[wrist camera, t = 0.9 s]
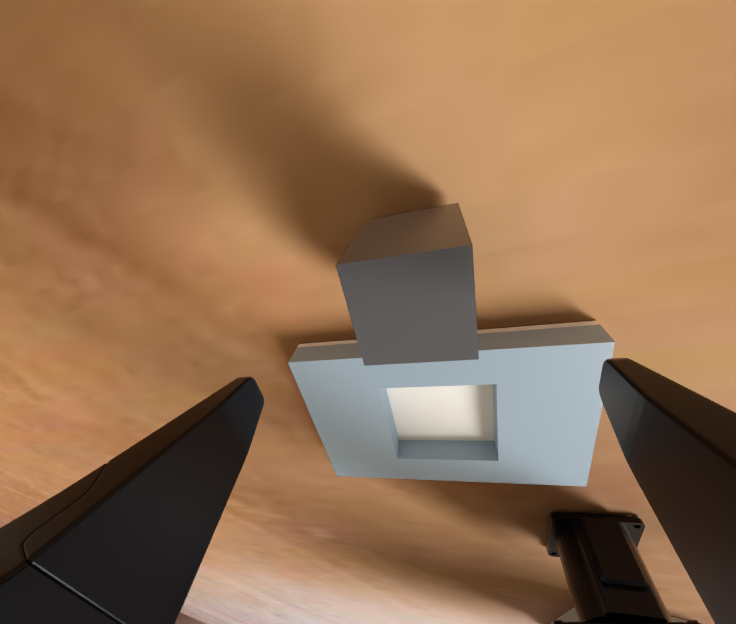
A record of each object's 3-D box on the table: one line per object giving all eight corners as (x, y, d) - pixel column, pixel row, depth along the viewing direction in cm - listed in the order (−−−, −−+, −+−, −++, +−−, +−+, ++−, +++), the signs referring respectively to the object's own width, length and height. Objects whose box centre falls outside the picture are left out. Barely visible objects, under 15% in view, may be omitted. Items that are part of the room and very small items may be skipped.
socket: (574, 459, 23) (586, 486, 21) (342, 454, 27) (336, 476, 26) (596, 320, 17) (614, 342, 15) (299, 344, 22) (287, 362, 20)
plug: (463, 281, 17) (478, 359, 11) (385, 290, 18) (364, 365, 13) (457, 199, 15) (472, 244, 9) (369, 215, 16) (335, 264, 10)
